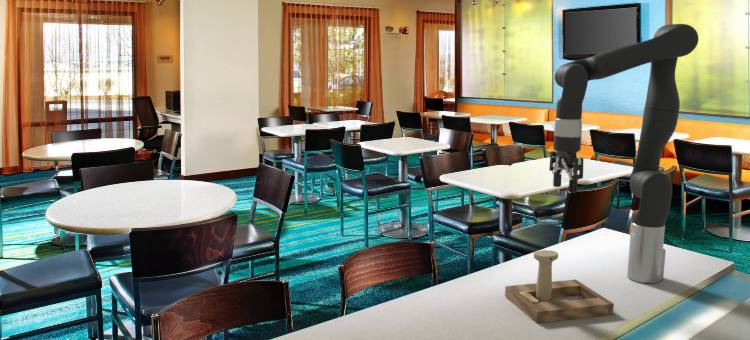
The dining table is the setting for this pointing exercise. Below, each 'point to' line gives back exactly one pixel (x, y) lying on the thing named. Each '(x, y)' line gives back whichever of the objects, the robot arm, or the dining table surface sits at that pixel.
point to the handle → (544, 274)
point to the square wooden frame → (559, 301)
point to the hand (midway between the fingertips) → (564, 189)
